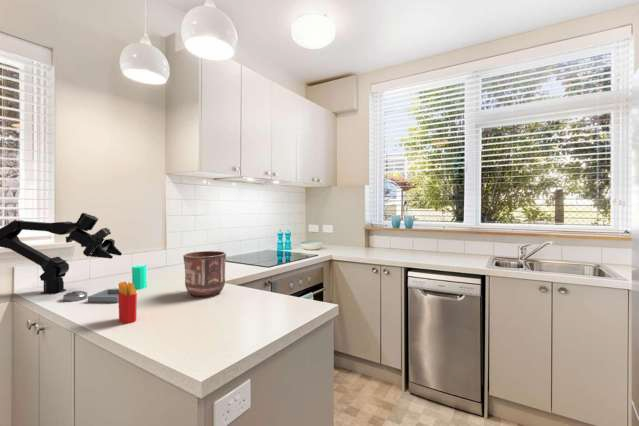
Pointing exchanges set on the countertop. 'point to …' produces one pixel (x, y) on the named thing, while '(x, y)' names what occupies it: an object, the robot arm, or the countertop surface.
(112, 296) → the tray
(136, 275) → the candle
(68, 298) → the pulley
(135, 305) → the french fries
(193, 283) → the pottery
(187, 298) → the countertop surface
